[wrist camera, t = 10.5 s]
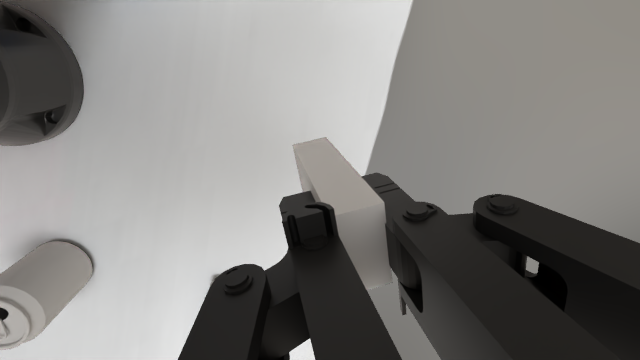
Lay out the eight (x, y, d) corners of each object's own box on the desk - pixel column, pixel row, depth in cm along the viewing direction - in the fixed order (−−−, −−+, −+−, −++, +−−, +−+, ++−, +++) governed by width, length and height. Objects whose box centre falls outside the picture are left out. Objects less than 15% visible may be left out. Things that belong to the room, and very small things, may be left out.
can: (82, 232, 44) (12, 288, 32) (104, 279, 46) (47, 347, 35) (24, 244, 43) (-67, 305, 32) (50, 292, 46) (-26, 364, 34)
